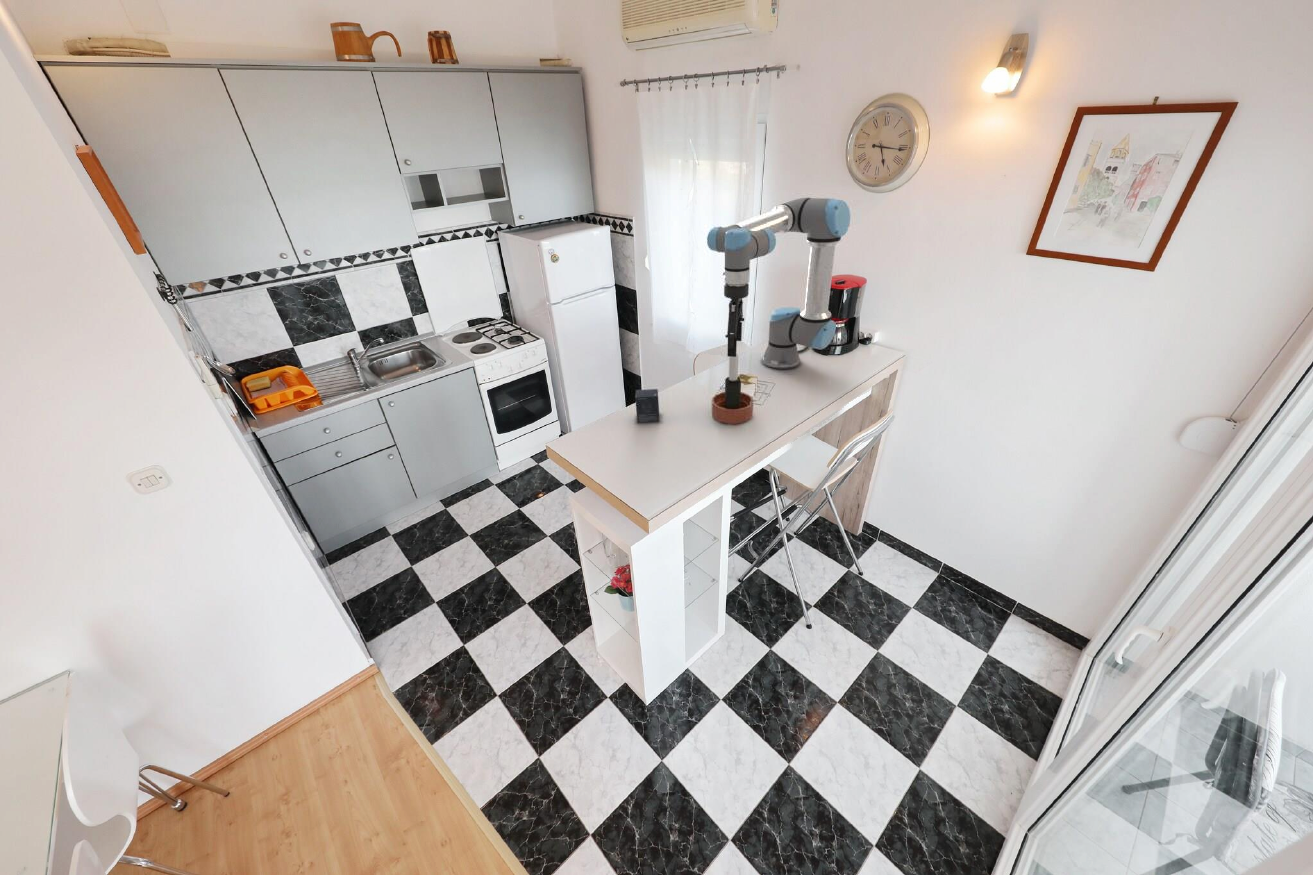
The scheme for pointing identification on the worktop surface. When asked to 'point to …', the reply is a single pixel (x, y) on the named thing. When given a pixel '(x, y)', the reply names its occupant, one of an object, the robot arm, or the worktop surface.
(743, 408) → the bowl
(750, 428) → the worktop surface
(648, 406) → the box
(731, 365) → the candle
